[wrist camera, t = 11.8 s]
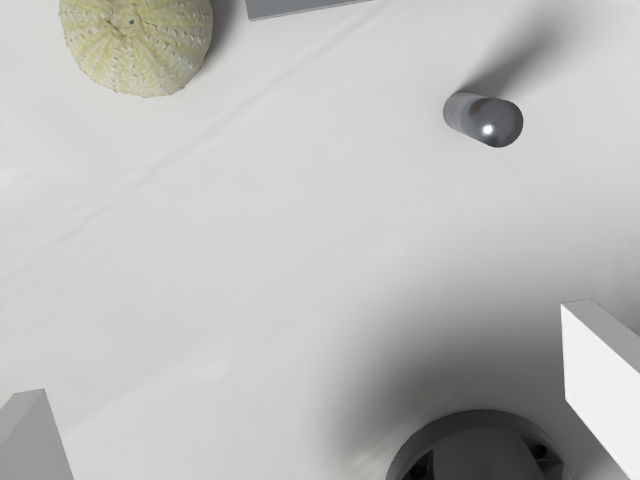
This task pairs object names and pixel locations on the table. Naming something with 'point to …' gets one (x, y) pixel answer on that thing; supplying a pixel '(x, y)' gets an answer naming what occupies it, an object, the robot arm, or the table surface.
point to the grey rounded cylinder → (484, 118)
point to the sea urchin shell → (138, 42)
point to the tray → (289, 7)
